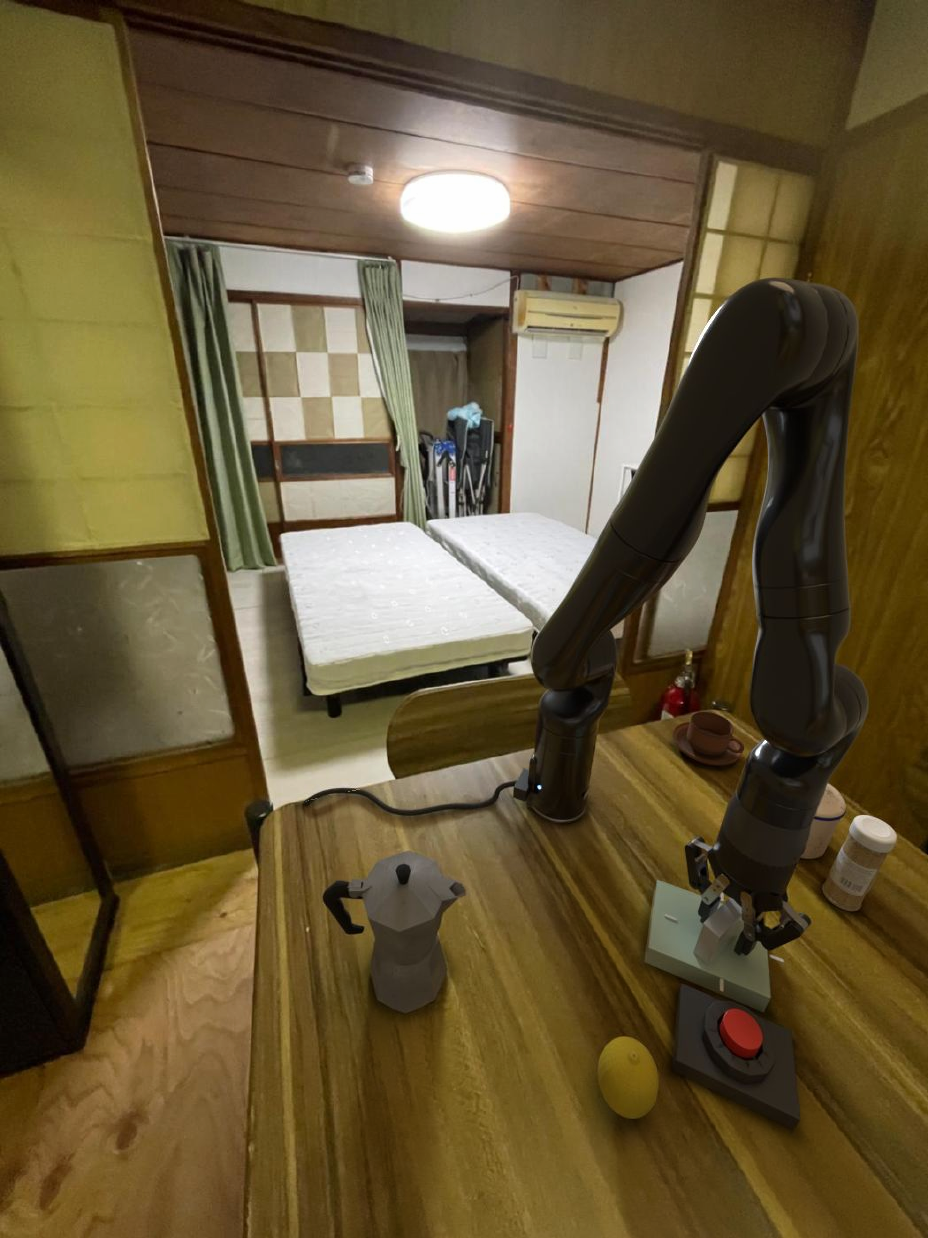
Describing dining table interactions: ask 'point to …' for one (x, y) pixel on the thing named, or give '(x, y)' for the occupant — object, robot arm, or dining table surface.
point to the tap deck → (673, 953)
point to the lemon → (628, 1077)
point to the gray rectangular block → (719, 931)
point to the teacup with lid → (824, 823)
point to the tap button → (741, 1033)
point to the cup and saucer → (708, 739)
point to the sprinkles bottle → (858, 862)
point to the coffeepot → (401, 925)
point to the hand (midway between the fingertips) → (723, 934)
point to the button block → (735, 1058)
